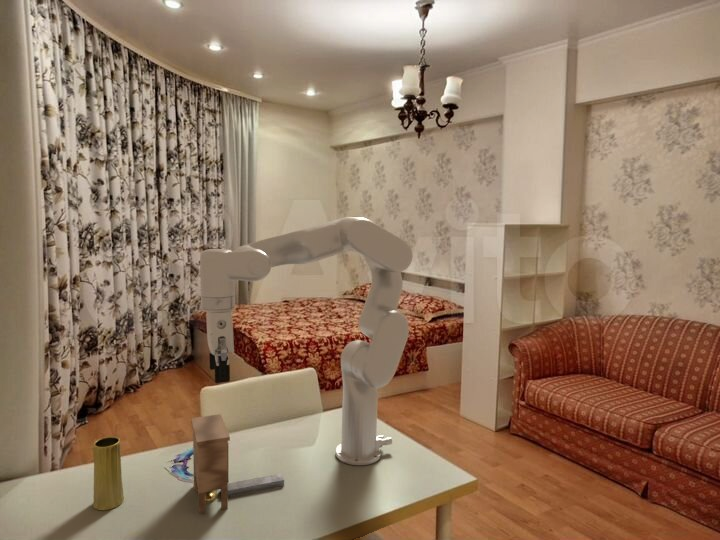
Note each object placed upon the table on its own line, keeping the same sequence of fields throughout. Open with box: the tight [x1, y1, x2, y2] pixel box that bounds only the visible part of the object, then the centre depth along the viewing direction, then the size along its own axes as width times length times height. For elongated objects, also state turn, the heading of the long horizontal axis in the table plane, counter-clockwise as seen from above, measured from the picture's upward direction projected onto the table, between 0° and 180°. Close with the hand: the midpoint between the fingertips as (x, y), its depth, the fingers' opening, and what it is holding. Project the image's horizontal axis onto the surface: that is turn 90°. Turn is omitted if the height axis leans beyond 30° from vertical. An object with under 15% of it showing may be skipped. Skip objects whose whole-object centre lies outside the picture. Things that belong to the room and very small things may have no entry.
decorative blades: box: [168, 447, 194, 484], centre depth 126 cm, size 20×1×10 cm
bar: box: [219, 473, 285, 498], centre depth 115 cm, size 14×3×2 cm, turn 113°
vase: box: [92, 436, 125, 511], centre depth 107 cm, size 6×6×14 cm
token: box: [205, 490, 218, 504], centre depth 111 cm, size 4×4×1 cm
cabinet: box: [190, 413, 231, 516], centre depth 110 cm, size 7×13×17 cm, turn 24°
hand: (219, 375), depth 113 cm, fingers open, 9 cm apart
